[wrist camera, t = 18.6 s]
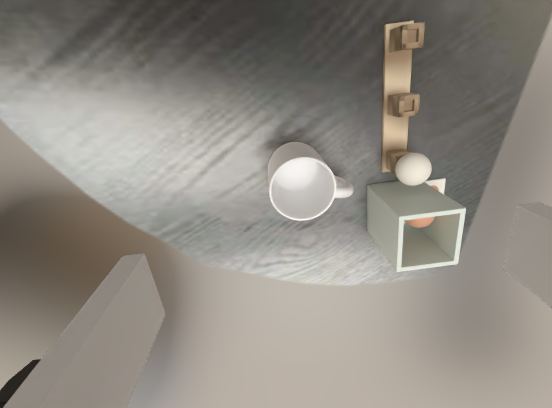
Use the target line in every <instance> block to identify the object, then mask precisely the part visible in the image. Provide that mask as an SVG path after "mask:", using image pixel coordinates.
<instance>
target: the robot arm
mask: <svg viewBox="0 0 552 408" xmlns="http://www.w3.org/2000/svg"><path fill="white" fill-rule="evenodd" d="M503 270H504V271H505V272H506V273H507V274H509V275H510V276H511V277H513V278H514V279H515V280H516V281H518V282H519V283H521V284H522V285H523V286H524V287H525V288H527V289H528V290H529V291H531V292H532V293H533V294H534V295H536V296H537V297H538V298H540V299H541V300H542V301H543V302H545V303H546V304H547V305H548V306H550V307H551V308H552V207H550V206H548V205H545V204H543V203H541V202H536V203H528V204H520V205H517V210H516V214H515V219H514V223H513V228H512V232H511V237H510V242H509V246H508V250H507V255H506V260H505V264H504V269H503ZM164 316H165V311H164V308H163V305H162V302H161V299H160V297H159V294H158V291H157V288H156V285H155V282H154V280H153V277H152V274H151V271H150V268H149V265H148V263H147V259H146V257H145V254H136V255H128V256H123V257H122V258H121V259H120V260H119V262H118V263H117V264H116V265H115V267H114V268H113V269H112V270H111V272H110V273H109V274H108V276H107V277H106V278H105V279H104V281H103V282H102V283H101V284H100V286H99V287H98V288H97V290H96V291H95V292H94V293H93V295H92V296H91V297H90V298H89V300H88V301H87V302H86V303H85V305H84V306H83V307H82V308H81V310H80V311H79V312H78V313H77V315H76V316H75V317H74V318H73V320H72V321H71V322H70V324H69V325H68V326H67V327H66V329H65V330H64V331H63V332H62V334H61V335H60V336H59V337H58V339H57V340H56V341H55V342H54V344H53V345H52V346H51V348H50V349H49V350H48V351H47V353H46V354H45V355H44V356H43V358H42V359H39V360H33V361H31V362H30V363H29V364H28V365H27V366H25V367H24V368H23V369H22V370H21V371H19V372H18V373H17V374H16V375H15V376H13V377H12V378H11V379H10V380H9V381H8V382H7V383H6V384H5V385H4V387H3V388H2V389H1V390H0V408H127V406H128V404H129V401H130V399H131V396H132V394H133V392H134V389H135V387H136V384H137V382H138V379H139V377H140V375H141V372H142V370H143V367H144V365H145V363H146V360H147V358H148V355H149V353H150V350H151V348H152V346H153V343H154V341H155V338H156V336H157V333H158V331H159V328H160V326H161V324H162V321H163V319H164Z"/></svg>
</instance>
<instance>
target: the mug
mask: <svg viewBox="0 0 552 408" xmlns="http://www.w3.org/2000/svg"><path fill="white" fill-rule="evenodd" d="M268 184H269V195H270V199H271V202H272V204H273V206H274V207H275V209H276V210H277V211H278V212H279V213H280V214H282V215H283V216H285V217H287V218H290V219H293V220H309V219H313V218H316V217H318V216H319V215H321V214H322V213H324V212H325V211H326V210H327V209H328V208H329V207H330V205H331V204H332V202H333V200H334V198H345V197H349V196H350V195H351V194H352V193H353V190H354V189H353V186H352V184H351V183H349V182H348V181H347V180H345V179H343V178H341V177H338V176H335V175H334V174H333V172H332V171H331V169H330V168H329V167H328V165H327V164H326V163H325V162H324V160H323V159H322V158H321V157H320V155H319V154H318V153H317V152H316V150H315V149H313V148H312V147H311V146H309V145H307V144H305V143H302V142H290V143H286V144H284V145H282V146H280V147H279V148H277V149H276V150H275V152H274V153H273V154H272V156H271V158H270V160H269V163H268Z"/></svg>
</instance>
